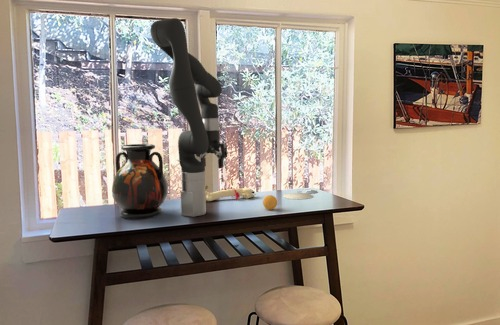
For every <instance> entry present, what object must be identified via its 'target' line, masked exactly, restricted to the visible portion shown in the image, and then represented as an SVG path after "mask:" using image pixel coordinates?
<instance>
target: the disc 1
mask: <svg viewBox="0 0 500 325" xmlns="http://www.w3.org/2000/svg"><path fill="white" fill-rule="evenodd" d="M313 197H314V196H313V194H305V193H298V192H293V193H285V194H283V198H285V199H288V200H308V199H309V200H310V199H312V198H313Z"/></svg>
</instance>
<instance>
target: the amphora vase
mask: <svg viewBox="0 0 500 325" xmlns="http://www.w3.org/2000/svg"><path fill="white" fill-rule="evenodd" d="M154 149H156V145H155V144H151V143H135V144H134V143H133V144H131V143H130V144H125V145H122V146H121V150H123V151H119V152H118V153H117V155H116V157H115V168H116V169H115V171H116V172H115V173H116V174H115V175H114V178H113V180H112V181H113V182H112V187H111V194H112V199H113V201H114V202H115V203H116V205H117V206H118V207H119V208H121V210H120V211H119V215H120V216H121V217H122V218H124V219H128V220H146V219H151V218H152V219H153V218H155V217H157V216H160V215H161V214H162V213H163V208H162V207H161V206H162V204H164V202H165V200H166V199H167V197H168V193H169V186H168V181H167V179H166V176H165V173H164V167H163V166H164V161H163V156H162V154H161V153H159V152H158V151H152V150H154ZM151 151H152V153H151ZM122 155H123V157H124V158H125V162H124V163H123V164H122V165H121V162H120V161H121V157H122ZM154 156H157V158H158V165H157V164H156V162H154V160H153V158H154Z"/></svg>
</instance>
